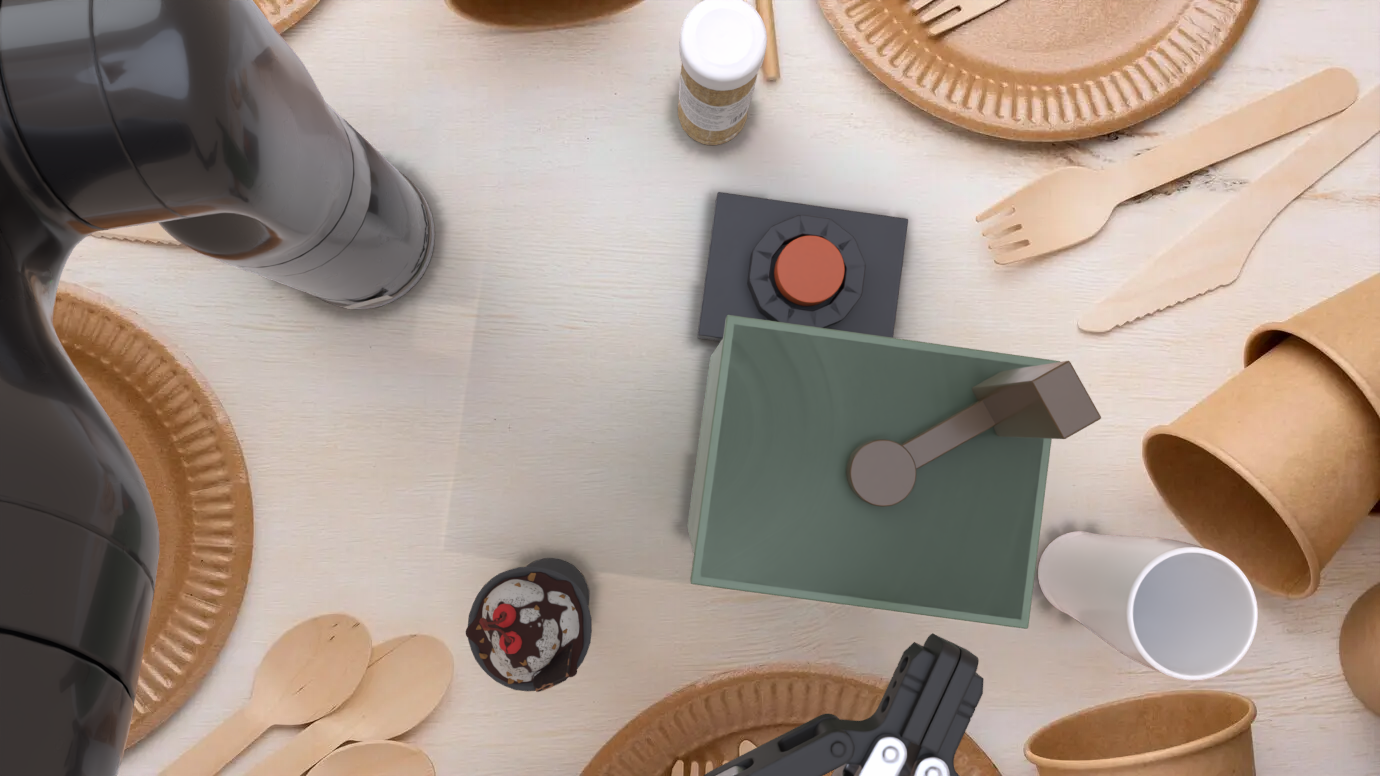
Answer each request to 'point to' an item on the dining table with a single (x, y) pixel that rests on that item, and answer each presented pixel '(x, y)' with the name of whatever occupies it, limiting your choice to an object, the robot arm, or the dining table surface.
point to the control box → (756, 239)
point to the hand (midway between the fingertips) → (954, 645)
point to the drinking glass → (1154, 600)
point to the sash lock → (977, 427)
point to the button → (809, 270)
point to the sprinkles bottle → (719, 68)
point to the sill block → (815, 492)
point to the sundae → (531, 625)
